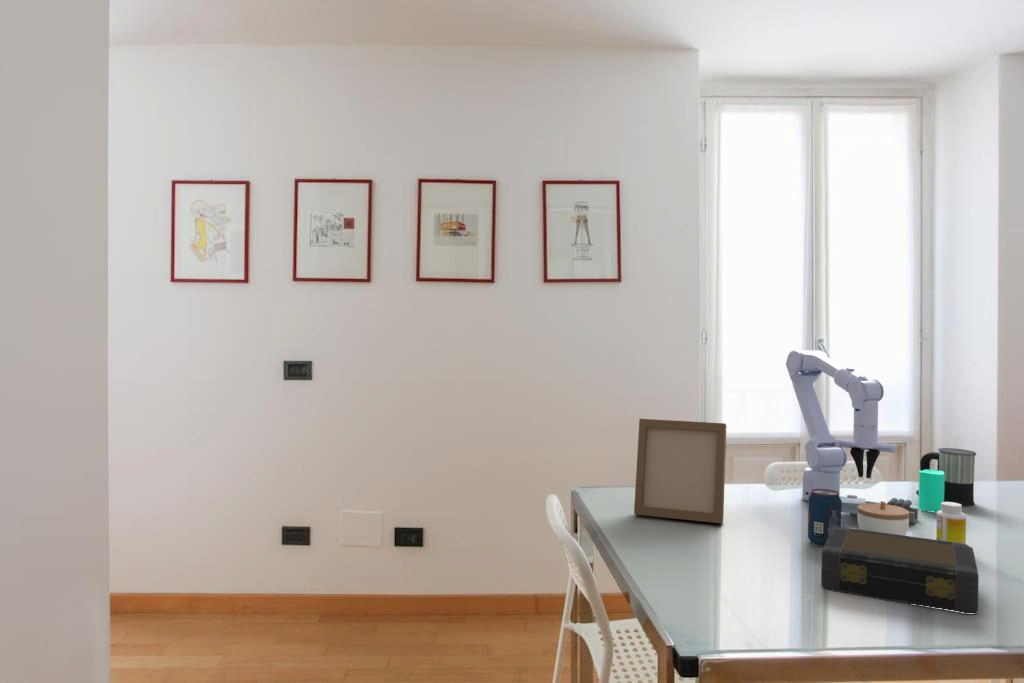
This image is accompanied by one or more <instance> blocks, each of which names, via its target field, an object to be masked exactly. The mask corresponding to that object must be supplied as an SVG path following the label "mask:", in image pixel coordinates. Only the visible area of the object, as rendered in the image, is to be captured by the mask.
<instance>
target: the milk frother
mask: <svg viewBox="0 0 1024 683" xmlns="http://www.w3.org/2000/svg"><path fill="white" fill-rule="evenodd" d="M937 451H938V452H936V451H932V452H931V451H930V452H927V453H925V454H924V455H923V456H922V457H921V459H920V461H919V462H920V463H919V464H920V466H919V470H920V471H923V470H926V469H927V470H931V462H932V460H935V461H937V469H936V470H938V471H943V472H944V473H945V480H944V502H954V503H958V504H961V505H970V506H974V505H975V499H974V497H975V496H974V495H975V494H974V493H975V490H974V485H975V482H974V481H975V464H976V463H975V459H976V455H977V452H976V451H974V450H969V449H963V448H954V447H953V448H951V447H940V448H938V449H937ZM915 494H916V495H917V496H918V497H919V489H917V490H916V491H915Z"/></svg>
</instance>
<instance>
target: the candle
mask: <svg viewBox="0 0 1024 683" xmlns="http://www.w3.org/2000/svg"><path fill="white" fill-rule="evenodd" d="M944 480H945V473H944V472H943V471H938V470H937V469H933V466H930V470H927V469H926V470H923V471H920V469H919V470H918V490H919V496H918V502H917V504H918V510H919V509H921V510H920V511H922V510H925V511H924V512H926V511H934V512H937V511H940V510H941V503H942V502H944Z"/></svg>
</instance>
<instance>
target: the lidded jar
mask: <svg viewBox="0 0 1024 683" xmlns="http://www.w3.org/2000/svg"><path fill="white" fill-rule="evenodd" d="M878 503H880V504H878ZM878 503H865V504H860V505H858V506H857V516H856V517H857V519H856V520H857V524H858V528H859V530H866V531H873V532H881V533H888V534H896V535H903V536H907V533H908V530H909V525H910V524H909V511H908V510H906V509H904V508H901V507H898V506H893V505H888V504H887V503H886V501H883V500H881V501H880V502H878Z"/></svg>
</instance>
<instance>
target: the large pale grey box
mask: <svg viewBox="0 0 1024 683" xmlns="http://www.w3.org/2000/svg"><path fill="white" fill-rule="evenodd" d="M865 501H866V503H878V504H880V502H878V501H877V502H876V501H870V500H865ZM907 510H908V511H909V524H908V525H911V526H912V525H913V526H914V525H915V524H916V523H917V522H918V520H919V508H917V507H913V506H910V507H909V508H908V509H907ZM849 514H850V515H849ZM848 515H849V516H855V517H857V514H853V513H848Z"/></svg>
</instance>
